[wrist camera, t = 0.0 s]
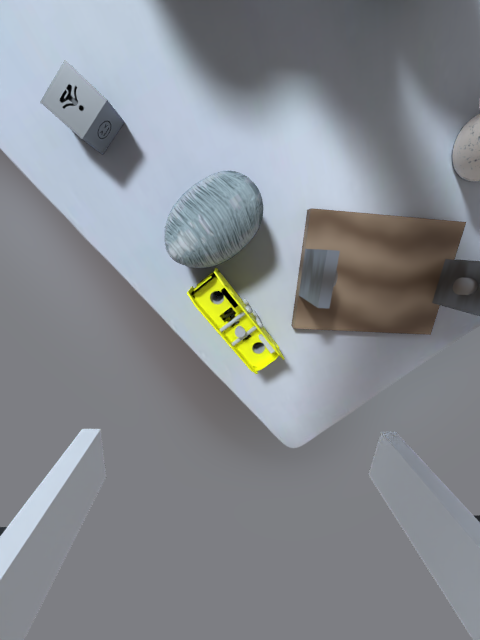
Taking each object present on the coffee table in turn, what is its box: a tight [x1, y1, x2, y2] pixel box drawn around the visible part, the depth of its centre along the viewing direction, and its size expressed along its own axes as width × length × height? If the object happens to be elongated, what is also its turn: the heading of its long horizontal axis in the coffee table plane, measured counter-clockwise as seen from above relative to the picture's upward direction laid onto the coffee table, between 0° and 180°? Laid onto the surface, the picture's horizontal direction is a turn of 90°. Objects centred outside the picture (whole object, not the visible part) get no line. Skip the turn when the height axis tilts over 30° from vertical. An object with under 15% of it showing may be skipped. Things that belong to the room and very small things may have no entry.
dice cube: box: [40, 60, 124, 155], centre depth 29 cm, size 5×5×5 cm
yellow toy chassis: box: [187, 268, 284, 374], centre depth 36 cm, size 16×6×8 cm, turn 38°
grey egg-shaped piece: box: [165, 171, 263, 268], centre depth 31 cm, size 14×10×10 cm
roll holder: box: [292, 209, 480, 335], centre depth 35 cm, size 18×24×10 cm
